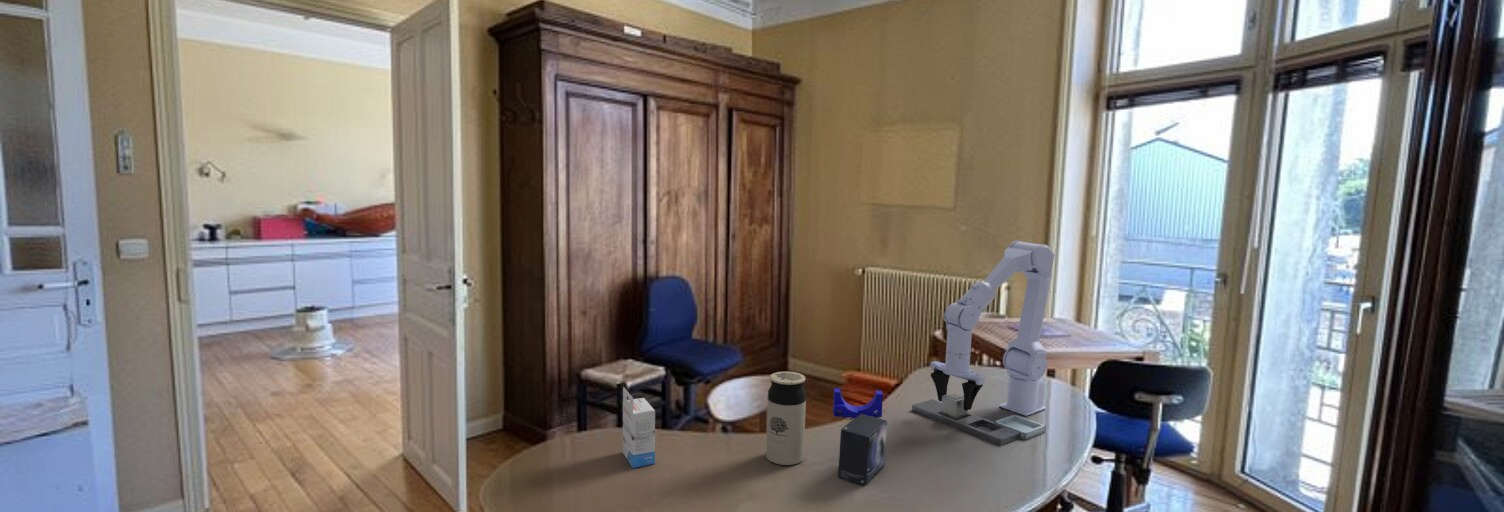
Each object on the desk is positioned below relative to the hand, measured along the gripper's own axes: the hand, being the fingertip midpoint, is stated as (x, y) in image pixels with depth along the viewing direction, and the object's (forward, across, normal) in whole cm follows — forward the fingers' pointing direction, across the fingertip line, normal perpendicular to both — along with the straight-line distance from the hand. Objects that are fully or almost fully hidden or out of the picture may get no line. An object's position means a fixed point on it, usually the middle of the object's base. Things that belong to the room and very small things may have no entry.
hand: (954, 404), depth 166 cm
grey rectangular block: (+4, 0, 0) cm, 4 cm away
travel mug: (+4, -6, -49) cm, 50 cm away
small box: (+4, +8, -40) cm, 41 cm away
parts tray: (+4, +13, +8) cm, 16 cm away
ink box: (+4, -23, -75) cm, 79 cm away
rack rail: (+4, +3, 0) cm, 5 cm away
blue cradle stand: (+4, -16, -18) cm, 24 cm away
